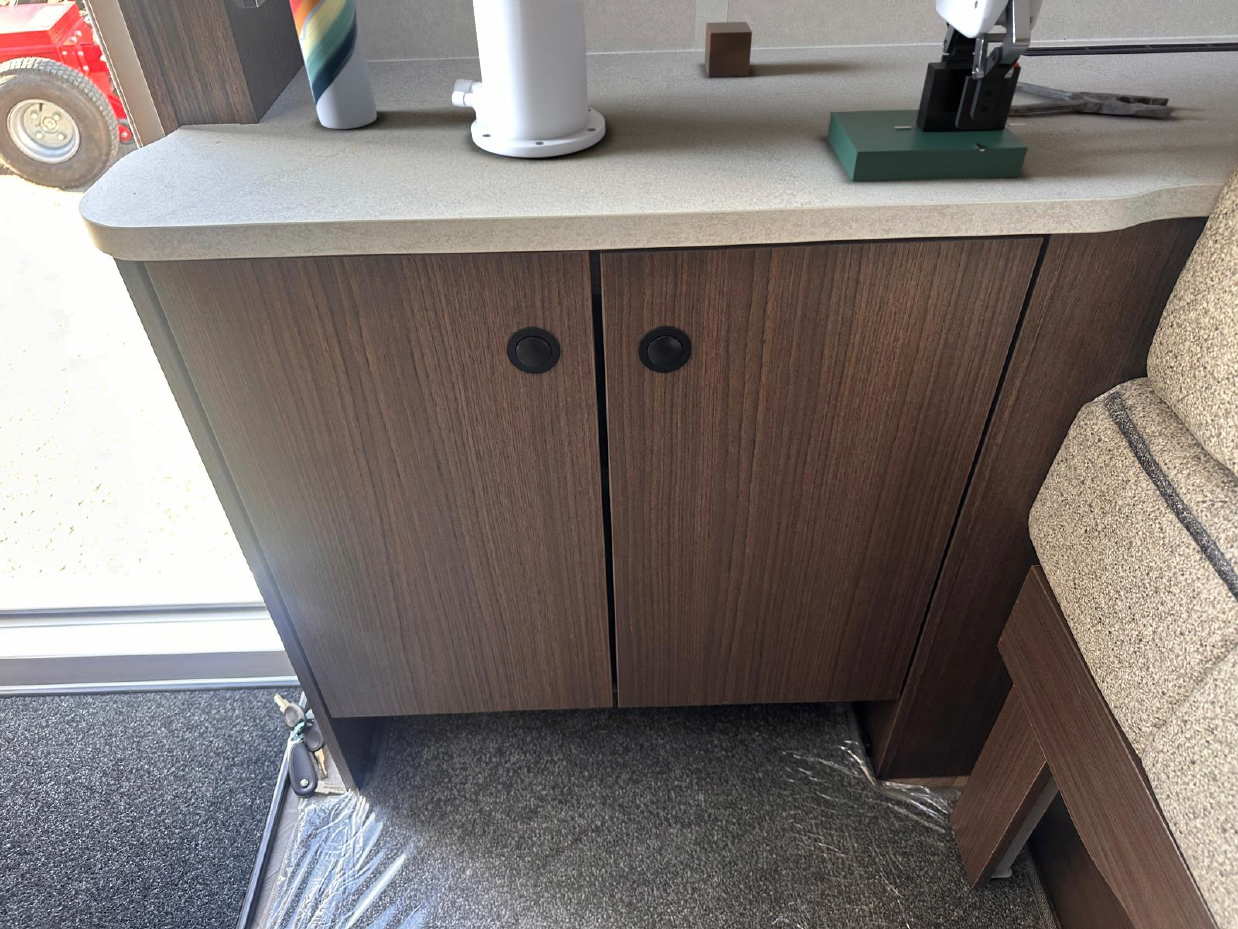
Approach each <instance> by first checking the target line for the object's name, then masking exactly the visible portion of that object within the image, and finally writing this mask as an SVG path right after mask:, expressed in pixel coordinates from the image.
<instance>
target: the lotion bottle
mask: <svg viewBox="0 0 1238 929" xmlns="http://www.w3.org/2000/svg"><path fill="white" fill-rule="evenodd" d="M289 4H290V8H291V12H292V16H293V22H294V23H295V29H296V33H297V36H298V40H299V44H300V45H299V46H300V49H301V52H302V57H303V61H304V66H305V69H306V73H307V77H308V82H309V85H310V89H311V94H312V97H313V100H314V105H315V109H316V113H317V117H318V119H319V122H320V124H321V126H323V127H325V128H328V129H334V130H348V129H355V128H361V127H364V126H367V125H370V124H372V123H373V122H375V121H376V120H377V117H378V113H377V105H376V101H375V95H374V89H373V85H372V80H371V75H370V70H369V66H368V65H369V64H368V61H367V56H366V51H365V46H364V41H363V35H362V31H361V25H360V21H359V16H358V12H357V6H356V1H355V0H289Z"/></svg>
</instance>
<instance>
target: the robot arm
mask: <svg viewBox="0 0 1238 929" xmlns="http://www.w3.org/2000/svg"><path fill="white" fill-rule="evenodd" d="M934 2H935V4H934V7H935V10H936V13H937V14H938V15H939V17H941V18H942V20H943V21H945V23H946V26H947V31H946V34H945V37H944V40H943V42H942V53H943V54H941V59H940V62H968V61H974V63H973V71H972V76H966V80H965V85H964V89H963V93H962V97H961V101H960V106H959V110H958V114H957V118H956V123H955V125H956V127H957V128H958V129H961V130H964V129H992V128H994V127H995V126H996V124H997V120H998V116H999V112H1000V109H1001V105H1002V101H1003V98H1004V94H1005V90H1006V86H1007V83H1008V79H1010V78H1011V76H1012V74H1013V69H1014V65H1015V64H1016V63H1017V62H1018V61H1019V59H1020V58H1021V56H1022V55H1023V54H1024V53H1025V52H1026V51H1027V50H1028V49H1029V48H1030V45H1031V38H1032V37H1031V34H1032V33H1031V32H1032V30H1034V28H1035V26H1036V23H1037V20H1038V18H1039V15H1040V12H1041V9H1042V6H1043V2H1044V0H935V1H934ZM472 3H473V12H474V13H473V14H474V21H475V28H476V29H475V30H476V37H477V45H478V46H477V47H478V54H479V56H478V57H479V64H480V72H481V80H482V81H477V80H476V79H467V78H456V80H455V82H454V85H453V92H452V95H451V101H452V105H453V106H454V107H461V108H473V110H474V111H475V114H476V115H475V116H476V119H475V120H474V121H473V122H472V124H471V128H470V130H471V135H472V141H473V142H474V143H475V145H477V147H479V148H481V149H483V150H484V151H487V152H490V153H492V154H496V155H499V156H506V157H513V158H548V157H550V158H551V157H557V156H564V155H569V154H572V153H577V152H579V151H582V150H583V151H584V150H585V149H588V148H590V147H592V146H594V145H596V144H597V143H598V142H600V141H601V140H602V139H603V137H604V136H605V135H606V119H605V118H604V116H603V115H602V114H601V113H600V112H598V111H597V110H595V109H594V108H591V107H589V95H588V71H587V70H588V69H587V68H588V67H587V46H586V23H585V0H472ZM994 26H1000V27H1002V28H1004V29H1005V32H991V33H990V31H991V30H992V29H993V27H994ZM989 44H1001V45H1000V46H995V47H994V48H992V50H991V51H990V52H989V54H988V51H989Z"/></svg>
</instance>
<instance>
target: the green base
mask: <svg viewBox="0 0 1238 929" xmlns="http://www.w3.org/2000/svg"><path fill="white" fill-rule="evenodd" d="M918 111H919V109H887V110H886V109H885V110H850V111H849V110H848V111H847V110H845V111H844V110H843V111H831V112H830V115H829V116H830V117H829V124H828V131H827V138H826V140H827V141H828V143H829V145H830V147H831V148H832V150H833V151H834V153H835V155H836V156H837V158H838V160H839V162H840V163H841V165H842V167H843V168H844V171H845V172H846V174H847V175H848V177H849V178H850V181H851V182H882V181H886V182H887V181H917V180H918V181H919V180H920V181H921V180H958V179H959V180H960V179H961V180H962V179H963V180H964V179H995V178H996V179H997V178H999V179H1000V178H1020V177H1021V172H1022V169H1023V166H1024V162H1025V159H1026V156H1027V152H1028V150H1029V147H1028V146H1027V145H1026V144H1025V143H1024V142H1023V141H1022V140H1021V139H1019V137H1017V135H1015V134H1014V133H1013V132H1012V131H1011V130H1010V129H1009V128H1017V127H1018V128H1021V127H1022V128H1023V127H1026V123H1022V122H1021V123H1020V122H1019V123H1007V126H1005V129H1004V130H970V131H932V132H922V130H921V129H920V128H919V127H918V126H917V125H916V121H917V116H918ZM1008 127H1009V128H1008Z"/></svg>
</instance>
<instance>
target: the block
mask: <svg viewBox="0 0 1238 929" xmlns="http://www.w3.org/2000/svg"><path fill="white" fill-rule="evenodd" d="M705 23H706V24H705V42H704V43H705V44H704V64H703V65H704V68H705V71H706V74H707V77H708V78H726V77H727V78H729V77H730V78H732V77H733V78H734V77H749V75H750V64H751V53H752V52H751V51H752V40H753V38H752V37H753V31H752V29H751V27H750V26H749V24H748V22H747V21H725V22H723V21H722V22H719V21H717V22H705Z"/></svg>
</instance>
